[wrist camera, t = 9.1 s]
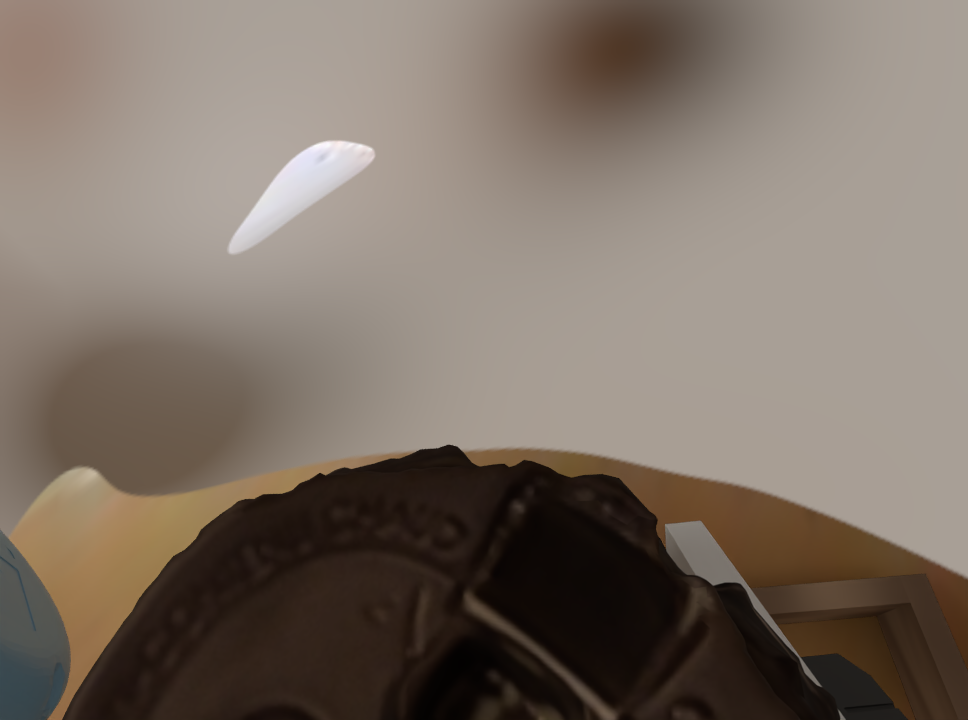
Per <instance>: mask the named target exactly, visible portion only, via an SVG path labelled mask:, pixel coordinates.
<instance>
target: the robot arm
mask: <svg viewBox="0 0 968 720" xmlns="http://www.w3.org/2000/svg"><path fill="white" fill-rule="evenodd" d="M665 533H666V551H667V553H668V554H669V555H670V557H671V558H672V559H673V561H674V562H675V563H676V564H677V566H678V567H679V568H680V569H681V570H682V571H683V572H684V573H685V574H687V575H698V576H700V577H702V578H704V579H706V580H707V581H708V582H709V583H711V584H712V585H713V586H714V585H718V584H721V583H725V582H736V583H740V584H741V585H742V586H743V587H744V588H745V590H746V591H747V593H748V595H749V598H750V600H751V602H752V604H753V607H754V608H755V609H756V611H757V612H758V613H759V614H760V615H761V616H762V617H763V619H764V620H765V621H766V622H767V623H768V624H769V626H770V627H771V628H772V629H773V630H774V631H775V633H776V634H777V635H778V636H779V637H780V638H781V639H782V641H783V642H784V643H785V644H786V645H787V646H788V647H789V648H790V649H791V650H792V651H793V652H794V653H795V654H796V655H797V656H798V657H799V659H800V662H801V664H802V667H803V670H804V672H805V674H806V675H807V676H808V677H809V678H810V679H811V680H812V681H813V682H814V683H815V684H816V685H818V686H820V687H823V688H824V689H825V690H827V691H828V692H829V693H830V694H831V695H832V696H833V697H834V698H835V701H836V705H837V708H838V711H839V714H840V720H908V719H907V718H906V717H905V716H904V715H903V714H902V712H901V711H900V710H899V709H898V708H895V707H894V704H893V702H892V701H891V699H890V698H889V697H888V696H887V695H886V694H885V692H884V691H883V690H882V689H881V688H880V687H879V685H878V684H877V683H876V682H875V681H874V679H873V678H872V677H871V676H870V675H869V674H867V673H866V672H864V671H863V670H861V669H860V668H858V667H857V666H855V665H854V664H852V663H851V662H849V661H848V660H846V659H845V658H844V657H842V656H841V655H839V654H828V655H818V656H808V657H800V656H799V655H798V653H797V652H796V651H795V649H794V648H793V647H792V645H791V644H790V642H789V641H788V640H787V638H786V637H785V636H784V634H783V633H782V631H781V630H780V629H779V627H778V626H777V625H776V623H775V622H774V620H773V619H772V618H771V616H770V615H769V614H768V612H767V611H766V609H765V608H764V607H763V605H762V604H761V603H760V601H759V600H758V598H757V597H756V596H755V594H754V593H753V592H752V590H751V589H750V587H749V586H748V585H747V583H746V582H745V581H744V579H743V578H742V577H741V575H740V574H739V572H738V571H737V570H736V568H735V567H734V566H733V564H732V563H731V561H730V560H729V559H728V557H727V556H726V555H725V553H724V552H723V550H722V549H721V548H720V546H719V545H718V544H717V542H716V541H715V539H714V538H713V537H712V535H711V534H710V533H709V531H708V530H707V528H706V527H705V526H704V524H703V523H702V522H701V521H692V522H683V523H673V524H665ZM70 663H71V657H70V646H69V640H68V636H67V633H66V630H65V627H64V624H63V621H62V618H61V616H60V614H59V612H58V609H57V607H56V606H55V604H54V602H53V600H52V598H51V596H50V594H49V593H48V591H47V590H46V588H45V586H44V585H43V583H42V582H41V580H40V579H39V577H38V576H37V574H36V573H35V572H34V570H33V569H32V567H31V566H30V565H29V563H28V562H27V561H26V559H25V558H24V557H23V556H22V554H21V553H20V552H19V551H18V549H17V548H16V547H15V546H14V545H13V543H12V542H11V541H10V540H9V539H8V538H7V537H6V535H5V534H3V532H2V531H1V530H0V720H47V719H48V717H49V716H50V715H51V714H52V712H53V711H54V709H55V708H56V706H57V705H58V703H59V701H60V699H61V697H62V695H63V693H64V691H65V688H66V686H67V682H68V678H69V672H70Z"/></svg>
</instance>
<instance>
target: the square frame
mask: <svg viewBox="0 0 968 720" xmlns="http://www.w3.org/2000/svg"><path fill="white" fill-rule="evenodd" d="M750 589H751V590H752V592H753V593H754V594H755V596H756V597H757V598H758V600H759V601H760V603H761V604H762V605H763V607H764V608H765V609H766V611H767V612H768V614H769V615H770V616H771V618H772V619H773V620H774V622H775V623H776V624H787V623H799V622H811V621H824V620H836V619H848V618H861V617H873V616H877V618H878V621H879V624H880V626H881V629H882V632H883V634H884V637H885V639H886V642H887V645H888V647H889V650H890V653H891V655H892V658H893V660H894V663H895V666H896V668H897V671H898V674H899V676H900V679H901V681H902V684H903V687H904V689H905V692H906V695H907V697H908V700H909V702H910V705H911V708H912V710H913V713H914V716H915V718H916V720H968V670H967V668H966V665H965V663H964V661H963V658H962V656H961V654H960V652H959V649H958V647H957V645H956V642H955V640H954V638H953V636H952V633H951V631H950V629H949V626H948V624H947V622H946V619H945V617H944V615H943V613H942V610H941V608H940V606H939V603H938V601H937V599H936V597H935V594H934V592H933V590H932V587H931V585H930V583H929V581H928V578H927V576H926V574H915V575H903V576H891V577H880V578H868V579H856V580H844V581H832V582H820V583H809V584H797V585H785V586H773V587H761V588H750Z"/></svg>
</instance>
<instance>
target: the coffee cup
mask: <svg viewBox="0 0 968 720" xmlns="http://www.w3.org/2000/svg"><path fill="white" fill-rule="evenodd" d="M657 521H658V520H657V518H656V516H655V515H654V514H653V513H651V512H650V511H649V510H648V509H647V508H646V507H645V506H644V505H643V504H642V503H641V502H640V501H639V499H638V498H637V497H636V496H635V495H634V494H633V493H632V492H631V491H630V490H629V489H628V487H627V486H626V485H625V484H624V483H623V482H622V481H621V480H620V479H619V478H616V477H612V476H607V475H603V474H597V475H582V476H578V477H573V478H570V477H567V476H564V475H561V474H558V473H557V472H555V471H554V470H552V469H551V468H549V467H546V466H543V465H541V464H538V463H535V462H533V461H527V460H523V461H522V462H520V463H519V464H517V465H515V466H512V467H508V466H507V465H505V464H495V465H488V466H481V467H479V466H477V465H475V464H473V463H472V462H471V461H470V460H469V459H468V457H467V456H466V455H465V454H464V453H463V452H462V451H461V450H460V449H459V448H458V447H456V446H453V445H446V446H443V447H440V448H436V449H422V450H419V451H417V452H415V453H413V454H411V455H408V456H405V457H403V458H400V459H388V460H385V461H381V462H378V463H375V464H371V465H367V466H363V467H359V468H355V469H349V468H345V467H344V468H341V469H337V470H335V471H333V472H331V473H329V474H328V475H326V476H325V475H323V474H321V473H319V474H317V475H316V476H314V477H313V478H311V479H310V480H307V481H305V482H302V483H300V484H299V485H298V486H296V487H295V488H294V489H293V490H292V491H289V492H286V493H283V494H263V495H261V496H259V497H257V498H255V499H244V500H241V501H238V502H237V503H236V504H234V505H233V506H232V507H230V508H229V509H228V510H226V511H225V512H223V513H222V514H220V515H219V516H218V517H216V518H215V519H214V520H212V521H211V522H210V523H209V524H207V525H206V526H205V527H204V528H203V529H201V531H200V533H199V534H198V536H197V538H196V539H195V540H194V541H193V542H192V543H191V544H190V545H189V546H188V547H187V548H186V549H185V550H184V551H182V552H180V553H178V554H176V555H175V556H173V557H172V558H171V560H170V561H169V562H168V563H167V564H166V566H165V567H164V568H163V570H162V571H161V573H160V574H159V575H158V577H157V578H156V579H155V580H154V581H153V582H152V584H151V585H150V586H149V587H148V588H147V589H146V590H145V592H144V593H143V594H142V596H141V597H140V598H139V600H138V602H137V603H136V605H135V607H134V609H133V611H132V612H131V613H130V614H129V616H128V617H127V618H126V619H125V621H124V622H123V624H122V625H121V627H120V628H119V630H118V631H117V632H116V634H115V635H114V637H113V638H112V640H111V641H110V642H109V644H108V645H107V646H106V648H105V649H104V651H103V652H102V654H101V655H100V657H99V658H98V660H97V661H96V662H95V664H94V666H93V667H92V669H91V670H90V672H89V673H88V675H87V676H86V678H85V679H84V681H83V683H82V684H81V686H80V687H79V689H78V690H77V692H76V693H75V695H74V697H73V699H72V701H71V703H70V705H69V707H68V709H67V711H66V713H65V715H64V717H63V719H62V720H840V714H839V711H838V708H837V705H836V701H835V698H834V697H833V696H832V695H831V694H830V693H829V692H828V691H827V690H825V689H824V688H823V687H820V686H818V685H816V684H815V683H814V682H813V681H812V680H811V679H810V678H809V677H808V676H807V675H806V674H805V672H804V670H803V667H802V664H801V662H800V659H799V657H798V656H797V655H796V654H795V653H794V652H793V651H792V650H791V649H790V648H789V647H788V646H787V645H786V644H785V643H784V642H783V641H782V639H781V638H780V637H779V636H778V635H777V634H776V633H775V631H774V630H773V629H772V628H771V627H770V626H769V624H768V623H767V622H766V621H765V620H764V619H763V617H762V616H761V615H760V614H759V613H758V612H757V611H756V609H755V608H754V607H753V604H752V602H751V600H750V598H749V595H748V593H747V591H746V590H745V588H744V587H743V586H742V585H741V584H740V583H736V582H725V583H721V584H718V585H714V586H713V585H712V584H711V583H709V582H708V581H707V580H706V579H704V578H702V577H700V576H698V575H687V574H685V573H684V572H683V571H682V570H681V569H680V568H679V567H678V566H677V564H676V563H675V562H674V561H673V559H672V558H671V557H670V555H669V554H668V553H667V551H666V549H665V547H664V545H663V543H662V541H661V539H660V538H659V537H658V535H657V532H656V525H657Z"/></svg>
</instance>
